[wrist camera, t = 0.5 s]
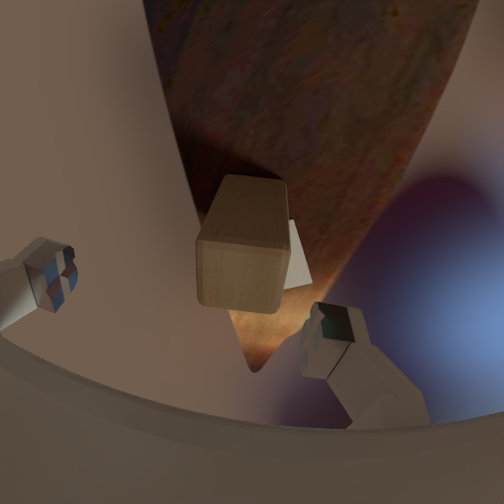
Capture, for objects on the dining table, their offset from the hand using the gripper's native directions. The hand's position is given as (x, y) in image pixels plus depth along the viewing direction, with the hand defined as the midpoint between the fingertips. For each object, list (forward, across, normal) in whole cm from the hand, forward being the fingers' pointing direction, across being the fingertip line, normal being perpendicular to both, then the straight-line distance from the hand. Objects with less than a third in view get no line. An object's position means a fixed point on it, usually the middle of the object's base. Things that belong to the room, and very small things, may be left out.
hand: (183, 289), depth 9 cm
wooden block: (+39, -2, +12) cm, 41 cm away
